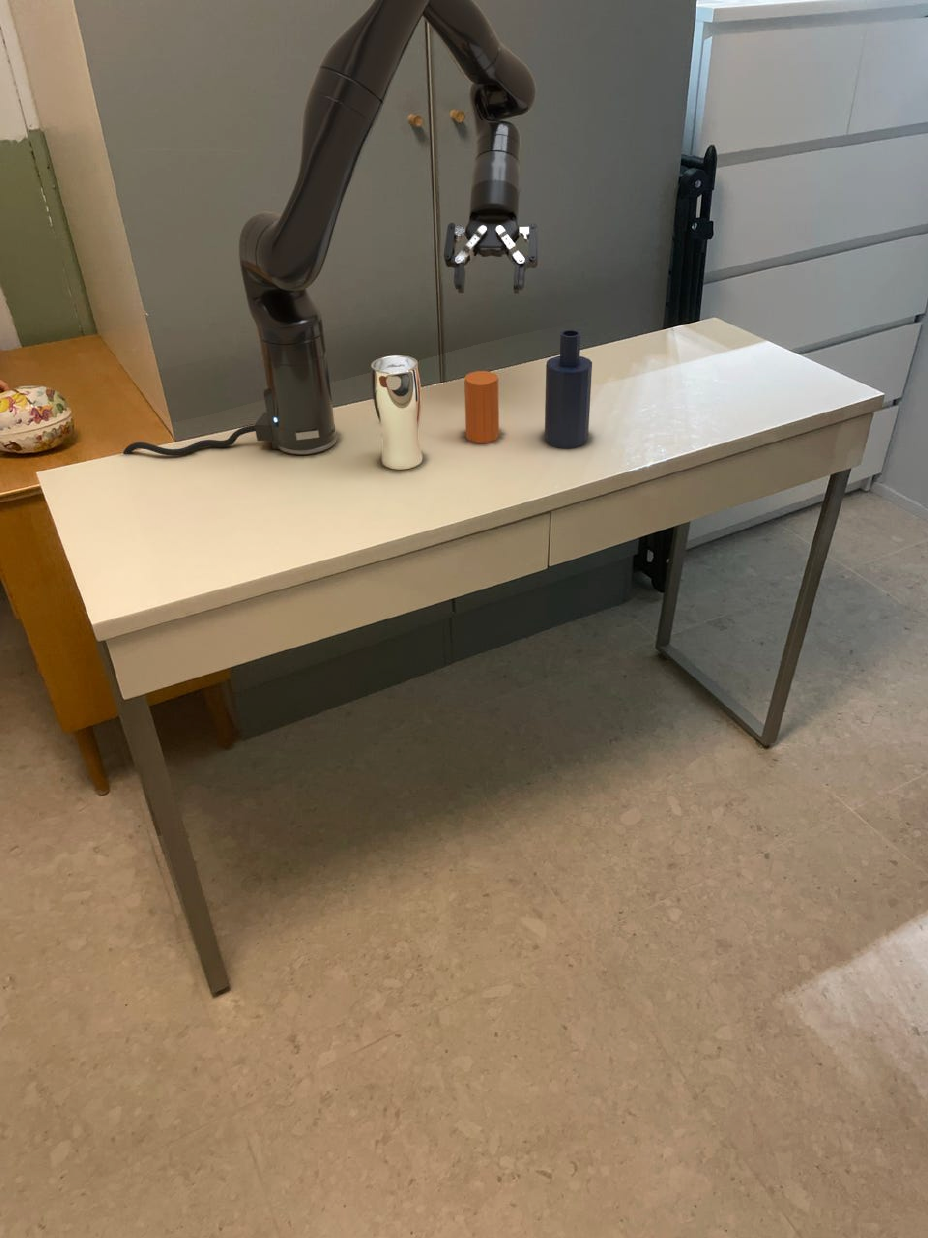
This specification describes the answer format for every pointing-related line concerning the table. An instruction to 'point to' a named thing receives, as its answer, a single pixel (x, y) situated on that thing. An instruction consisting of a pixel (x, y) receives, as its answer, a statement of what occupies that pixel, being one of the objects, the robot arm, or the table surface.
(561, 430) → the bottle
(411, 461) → the silver metal tumbler
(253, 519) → the table surface
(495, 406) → the grooved orange cylinder
